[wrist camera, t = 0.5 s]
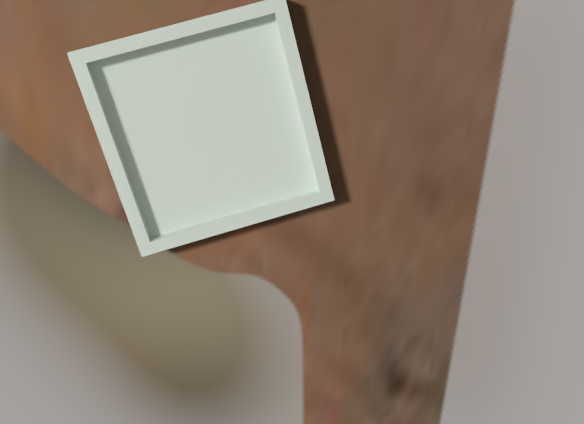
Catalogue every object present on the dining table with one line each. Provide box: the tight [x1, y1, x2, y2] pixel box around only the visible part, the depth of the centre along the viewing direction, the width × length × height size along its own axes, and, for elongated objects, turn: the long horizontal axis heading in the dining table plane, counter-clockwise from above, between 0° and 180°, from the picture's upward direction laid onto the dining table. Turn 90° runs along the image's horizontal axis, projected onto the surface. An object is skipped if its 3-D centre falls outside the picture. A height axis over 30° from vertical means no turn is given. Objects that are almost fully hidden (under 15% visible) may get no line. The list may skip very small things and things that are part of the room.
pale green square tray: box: [67, 0, 334, 257], centre depth 35 cm, size 13×13×1 cm
